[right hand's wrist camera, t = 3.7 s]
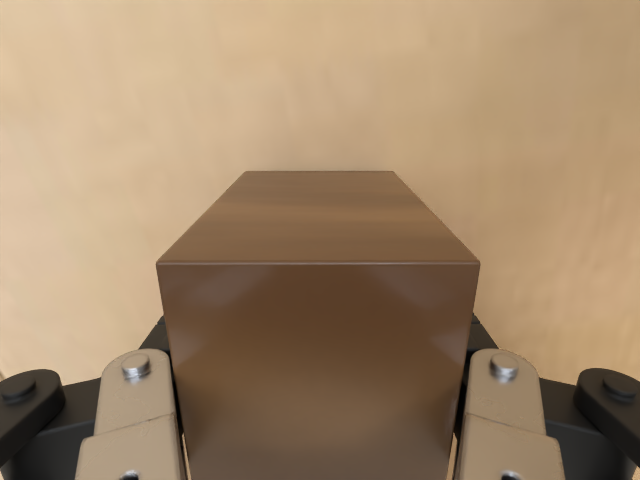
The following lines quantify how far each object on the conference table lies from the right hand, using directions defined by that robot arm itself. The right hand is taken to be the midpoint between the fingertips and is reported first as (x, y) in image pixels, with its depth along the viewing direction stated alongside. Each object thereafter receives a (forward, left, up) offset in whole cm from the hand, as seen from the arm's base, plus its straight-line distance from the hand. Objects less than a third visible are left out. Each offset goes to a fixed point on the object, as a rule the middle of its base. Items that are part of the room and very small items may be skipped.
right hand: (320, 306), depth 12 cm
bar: (+5, +9, -4) cm, 11 cm away
